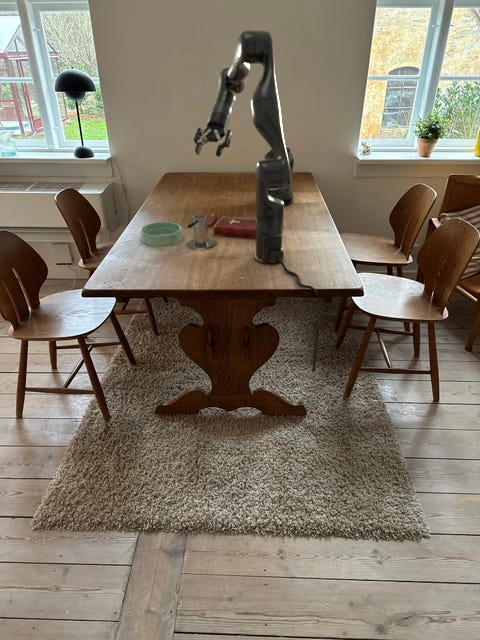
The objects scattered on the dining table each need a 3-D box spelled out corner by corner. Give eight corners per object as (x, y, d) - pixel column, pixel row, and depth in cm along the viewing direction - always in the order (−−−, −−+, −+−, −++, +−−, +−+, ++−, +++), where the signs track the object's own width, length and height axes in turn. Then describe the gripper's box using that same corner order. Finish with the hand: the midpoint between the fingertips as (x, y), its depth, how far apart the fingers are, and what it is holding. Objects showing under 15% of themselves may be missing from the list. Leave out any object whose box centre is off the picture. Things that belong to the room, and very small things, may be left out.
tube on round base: (198, 239, 173) (197, 213, 168) (210, 241, 171) (209, 215, 166) (184, 249, 164) (182, 223, 159) (196, 252, 162) (194, 225, 157)
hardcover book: (266, 240, 173) (266, 230, 171) (213, 235, 177) (213, 225, 175) (272, 229, 183) (272, 219, 181) (222, 225, 187) (221, 215, 185)
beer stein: (256, 205, 209) (256, 149, 196) (261, 193, 226) (262, 140, 213) (291, 207, 207) (295, 150, 194) (295, 195, 223) (298, 141, 210)
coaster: (216, 248, 167) (216, 246, 167) (189, 250, 165) (189, 249, 165) (212, 238, 175) (212, 236, 175) (186, 240, 173) (186, 239, 173)
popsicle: (218, 212, 196) (210, 224, 184) (218, 216, 197) (210, 228, 185) (208, 211, 197) (199, 223, 185) (208, 215, 198) (199, 228, 185)
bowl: (184, 245, 169) (183, 234, 167) (142, 249, 166) (141, 237, 164) (180, 231, 182) (179, 220, 180) (141, 234, 179) (139, 223, 177)
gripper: (199, 109, 172) (186, 147, 169) (233, 111, 167) (220, 150, 164) (206, 122, 179) (194, 158, 176) (239, 125, 174) (227, 162, 171)
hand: (207, 154), depth 170 cm, fingers open, 8 cm apart
